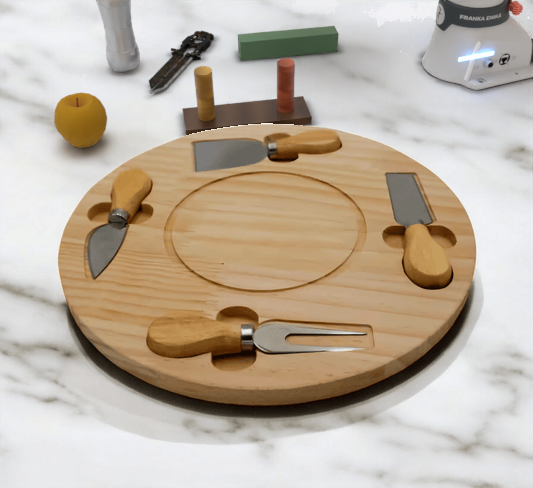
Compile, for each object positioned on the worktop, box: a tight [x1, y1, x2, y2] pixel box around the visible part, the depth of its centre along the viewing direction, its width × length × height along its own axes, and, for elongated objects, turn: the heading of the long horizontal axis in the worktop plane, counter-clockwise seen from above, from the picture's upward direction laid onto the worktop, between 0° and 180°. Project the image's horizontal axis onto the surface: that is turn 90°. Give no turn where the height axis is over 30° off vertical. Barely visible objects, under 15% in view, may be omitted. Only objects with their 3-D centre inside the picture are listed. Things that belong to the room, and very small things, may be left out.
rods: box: [182, 57, 313, 136], centre depth 112 cm, size 22×7×10 cm, turn 100°
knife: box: [148, 30, 215, 95], centre depth 130 cm, size 25×6×1 cm, turn 154°
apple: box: [53, 92, 108, 149], centre depth 108 cm, size 8×8×9 cm
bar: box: [237, 25, 340, 62], centre depth 132 cm, size 20×4×4 cm, turn 100°
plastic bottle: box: [95, 0, 141, 73], centre depth 123 cm, size 6×7×20 cm
